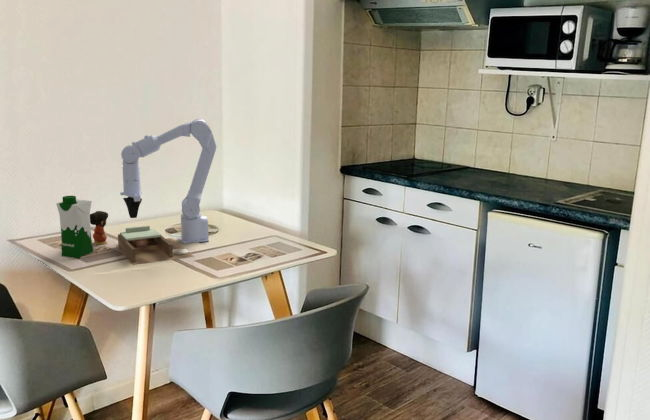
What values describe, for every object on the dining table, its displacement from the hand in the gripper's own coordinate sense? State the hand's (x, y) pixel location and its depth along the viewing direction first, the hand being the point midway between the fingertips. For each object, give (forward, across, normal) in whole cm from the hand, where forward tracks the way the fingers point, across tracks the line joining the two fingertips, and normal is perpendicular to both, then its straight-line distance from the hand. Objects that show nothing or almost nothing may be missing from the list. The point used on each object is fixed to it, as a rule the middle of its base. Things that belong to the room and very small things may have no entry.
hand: (133, 217), depth 211 cm
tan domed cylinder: (+9, +9, 0) cm, 13 cm away
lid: (+4, +9, 0) cm, 10 cm away
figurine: (+10, -3, -11) cm, 15 cm away
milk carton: (+10, +6, -20) cm, 23 cm away
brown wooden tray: (+9, +14, +3) cm, 17 cm away
